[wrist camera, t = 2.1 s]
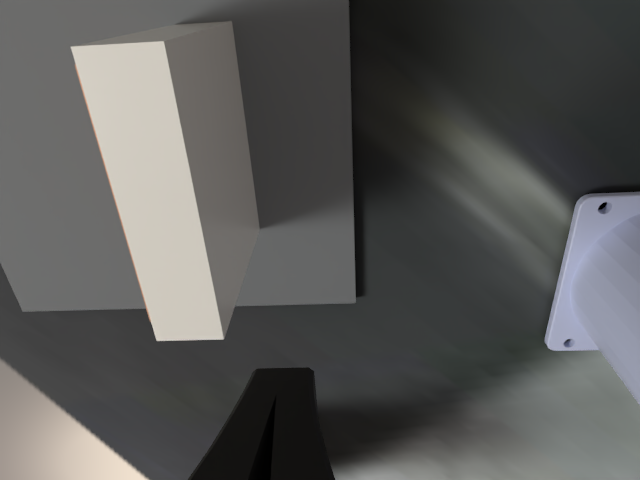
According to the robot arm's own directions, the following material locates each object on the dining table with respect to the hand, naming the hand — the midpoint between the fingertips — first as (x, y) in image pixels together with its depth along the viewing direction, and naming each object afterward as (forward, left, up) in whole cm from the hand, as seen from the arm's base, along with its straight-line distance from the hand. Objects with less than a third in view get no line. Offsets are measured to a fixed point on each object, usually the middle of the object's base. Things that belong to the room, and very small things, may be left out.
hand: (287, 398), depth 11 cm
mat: (+6, -4, -10) cm, 12 cm away
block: (+3, -4, -10) cm, 11 cm away
